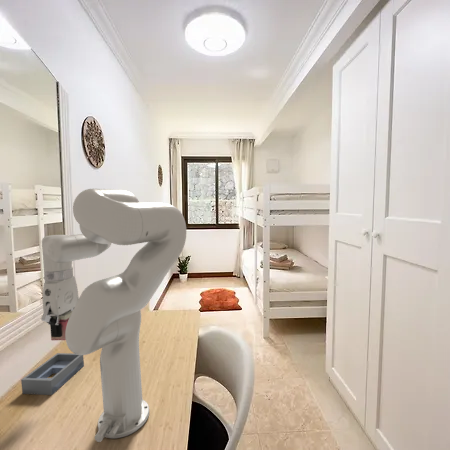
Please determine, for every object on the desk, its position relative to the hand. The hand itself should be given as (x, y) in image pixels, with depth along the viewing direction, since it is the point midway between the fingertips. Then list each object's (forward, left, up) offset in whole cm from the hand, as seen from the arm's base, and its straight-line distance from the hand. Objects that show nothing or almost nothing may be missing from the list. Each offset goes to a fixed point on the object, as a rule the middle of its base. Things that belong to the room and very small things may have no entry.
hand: (62, 331), depth 83 cm
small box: (0, 0, -2) cm, 2 cm away
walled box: (+3, +7, -18) cm, 19 cm away
